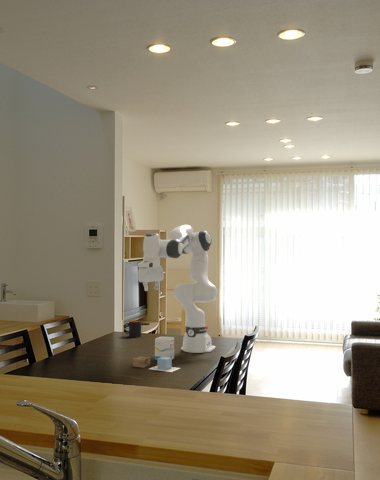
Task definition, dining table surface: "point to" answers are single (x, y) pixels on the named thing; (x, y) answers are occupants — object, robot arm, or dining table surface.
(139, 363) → the walnut block
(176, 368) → the letter
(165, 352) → the ink box
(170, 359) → the cube
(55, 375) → the dining table surface
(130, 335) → the mug
